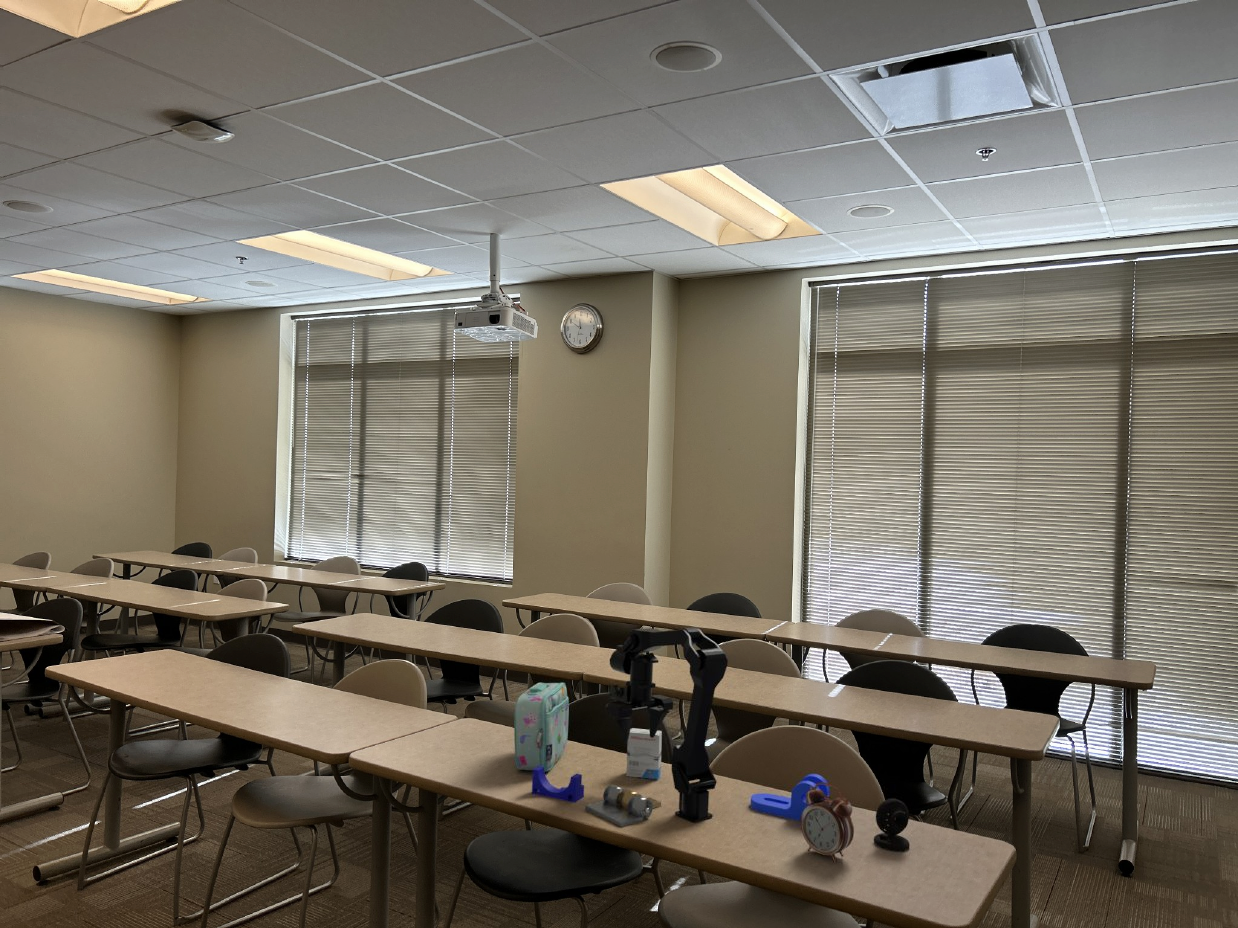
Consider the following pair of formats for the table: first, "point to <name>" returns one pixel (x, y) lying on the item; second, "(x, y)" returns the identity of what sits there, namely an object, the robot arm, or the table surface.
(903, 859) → the table surface
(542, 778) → the blue semicircular cradle
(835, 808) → the alarm clock
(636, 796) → the fixed leaf
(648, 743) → the ink box
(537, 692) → the lunch box
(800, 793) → the bracket
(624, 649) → the robot arm
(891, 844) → the webcam
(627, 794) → the brass hinge knuckle
